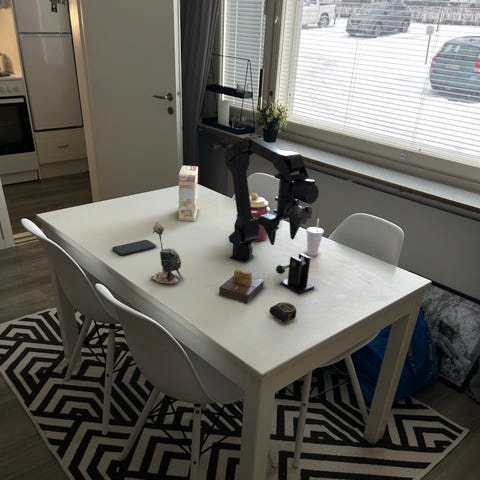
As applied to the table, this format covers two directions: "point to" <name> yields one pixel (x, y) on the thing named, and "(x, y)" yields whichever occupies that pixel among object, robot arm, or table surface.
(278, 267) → the door handle
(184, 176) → the coffeecake box
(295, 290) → the handle bracket
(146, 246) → the phone
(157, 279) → the dried flower vase
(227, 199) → the table surface
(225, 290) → the plate
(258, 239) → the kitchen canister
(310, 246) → the smoothie
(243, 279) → the thumb turn
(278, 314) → the tape measure
